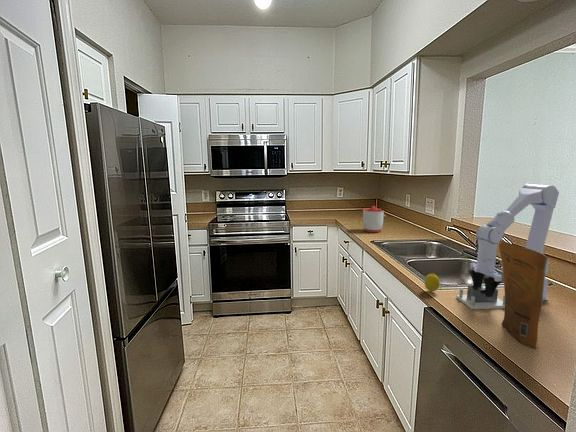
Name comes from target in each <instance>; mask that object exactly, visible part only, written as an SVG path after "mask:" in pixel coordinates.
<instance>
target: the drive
mask: <svg viewBox="0 0 576 432" xmlns="http://www.w3.org/2000/svg"><path fill="white" fill-rule="evenodd" d="M498 294H499V289H498V287H497V288H496V289H495V291H494V293H493V296H492V297H486V295H485V284H484V285H483V284H482V285H480V286H474V285H467V292H466V295H467V299H469V300H470V301H471V297H472V296H474V297H475V303H480V302H497V298H498V296H499V295H498Z"/></svg>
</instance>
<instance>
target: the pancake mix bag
mask: <svg viewBox="0 0 576 432" xmlns="http://www.w3.org/2000/svg"><path fill="white" fill-rule="evenodd" d="M498 243H499V244H498V250H499V255H500V258H501V259H500V260H501V270H502V279H503V287H504V295H505V308H504V316H503V320H502V322H501V327H502V328H503V329H504V330H506V331H507V332H508V333H509V334H510V335H511V336H512V337H514V339H516V340H517V342H518V343H520V344H522V345H524V346H526V347H530V348H533V349H538V347H537V346H538V340H539V339H538V337H539V336H538V334H539V333H538V332H539V322H540V316H541V311H542V305H543V301H544V300H543V290H544V279H545V277H546V275H545V271H546V264H547V260H548V259H549V257H548V256H546V255H545V254H544V253H543V254H544V255H543V254H541V253H539V252H536V251H534V250H531V249H527V248H526V247H523V246H520V245H516V244H513V243H510V242H507V241H506V240H501V241H500V242H498Z"/></svg>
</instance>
